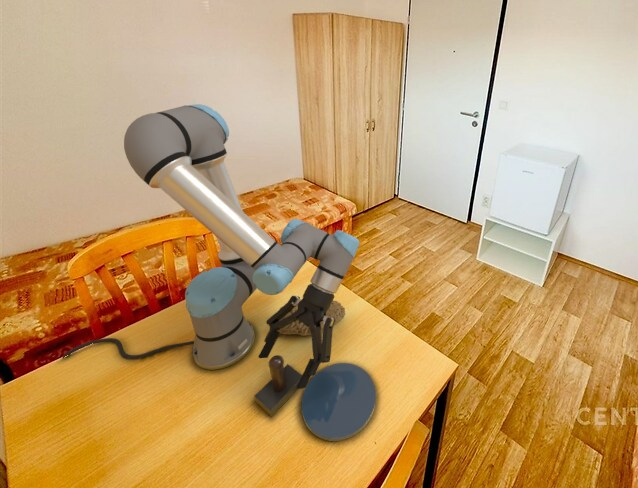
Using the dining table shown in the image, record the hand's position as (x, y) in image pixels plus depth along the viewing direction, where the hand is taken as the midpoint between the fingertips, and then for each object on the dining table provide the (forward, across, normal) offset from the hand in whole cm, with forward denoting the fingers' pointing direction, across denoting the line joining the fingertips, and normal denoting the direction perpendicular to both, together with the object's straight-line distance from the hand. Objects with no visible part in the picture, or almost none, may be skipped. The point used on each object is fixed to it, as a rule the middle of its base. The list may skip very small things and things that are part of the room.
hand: (281, 372), depth 77 cm
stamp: (+6, 0, -4) cm, 7 cm away
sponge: (-8, +9, -18) cm, 22 cm away
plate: (+1, -13, -9) cm, 16 cm away
